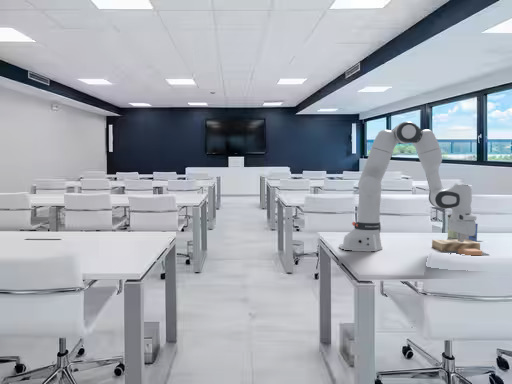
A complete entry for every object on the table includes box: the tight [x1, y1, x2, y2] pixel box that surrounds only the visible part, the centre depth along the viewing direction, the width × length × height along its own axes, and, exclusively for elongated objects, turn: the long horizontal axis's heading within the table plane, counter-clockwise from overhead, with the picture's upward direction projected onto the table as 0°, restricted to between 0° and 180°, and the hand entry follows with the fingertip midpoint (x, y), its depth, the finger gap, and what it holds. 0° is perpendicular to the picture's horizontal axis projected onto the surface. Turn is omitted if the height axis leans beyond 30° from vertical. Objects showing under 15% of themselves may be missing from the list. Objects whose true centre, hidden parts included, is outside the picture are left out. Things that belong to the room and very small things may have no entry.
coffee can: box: [447, 214, 457, 240], centre depth 250 cm, size 10×10×14 cm
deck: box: [431, 239, 481, 252], centre depth 221 cm, size 20×11×4 cm, turn 92°
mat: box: [443, 251, 490, 256], centre depth 210 cm, size 18×10×1 cm, turn 92°
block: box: [458, 249, 483, 256], centre depth 207 cm, size 9×6×2 cm, turn 92°
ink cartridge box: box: [457, 223, 479, 242], centre depth 233 cm, size 10×6×14 cm, turn 11°
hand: (460, 241), depth 215 cm, fingers closed
